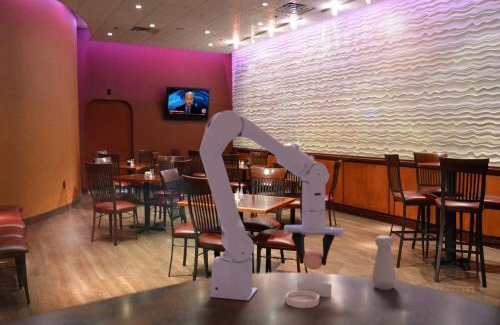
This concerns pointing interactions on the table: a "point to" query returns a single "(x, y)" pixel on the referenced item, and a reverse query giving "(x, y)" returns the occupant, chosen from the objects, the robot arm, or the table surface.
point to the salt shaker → (384, 264)
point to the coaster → (302, 299)
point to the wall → (315, 287)
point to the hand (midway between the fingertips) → (313, 263)
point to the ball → (313, 259)
